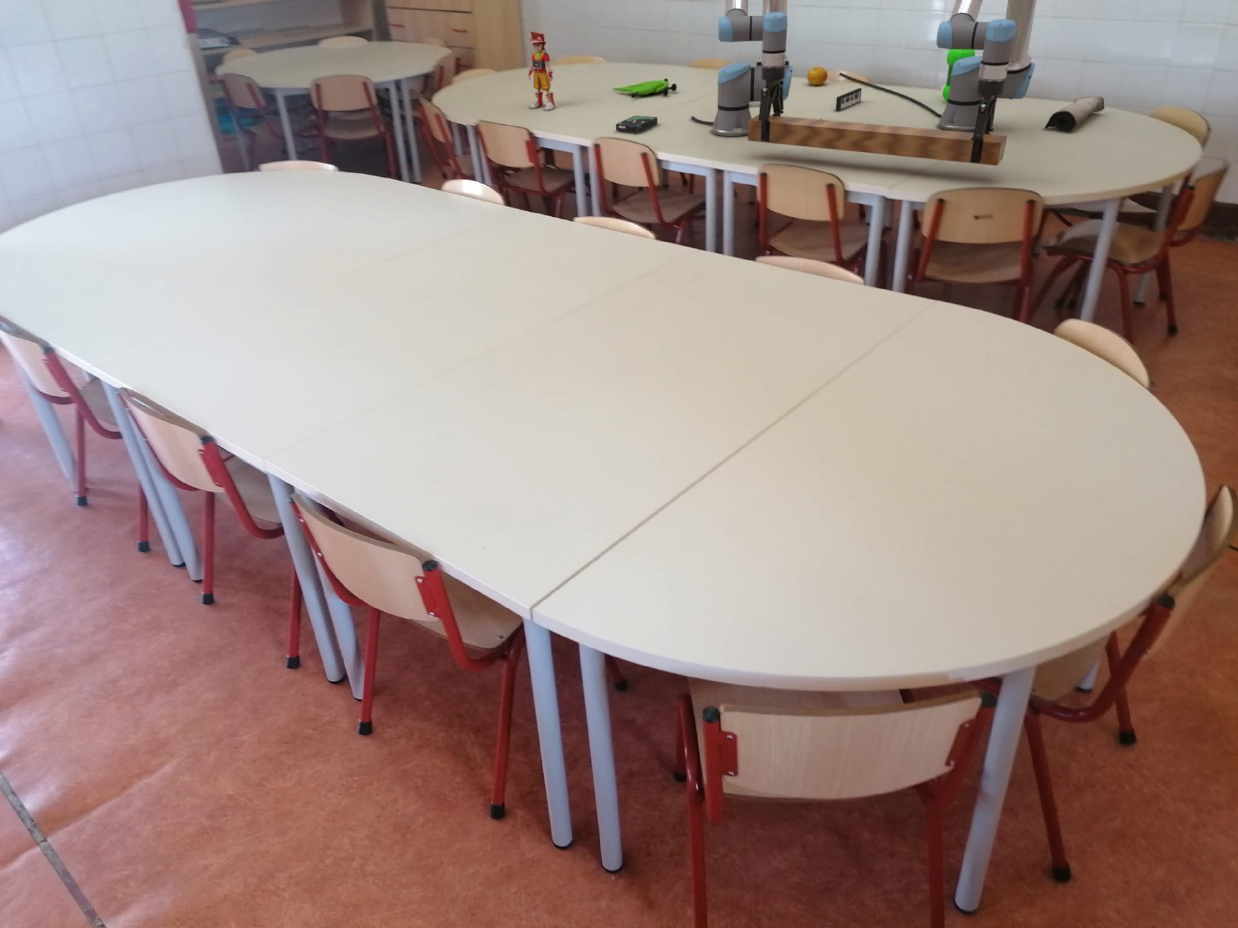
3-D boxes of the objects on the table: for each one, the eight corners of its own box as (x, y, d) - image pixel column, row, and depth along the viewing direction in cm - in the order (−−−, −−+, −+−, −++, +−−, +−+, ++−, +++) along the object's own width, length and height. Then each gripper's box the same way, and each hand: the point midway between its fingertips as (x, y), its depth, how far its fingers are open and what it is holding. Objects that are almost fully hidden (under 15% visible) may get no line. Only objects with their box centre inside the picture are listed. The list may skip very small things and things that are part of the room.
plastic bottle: (973, 101, 354) (984, 32, 339) (955, 106, 349) (966, 36, 335) (952, 97, 361) (962, 29, 346) (934, 102, 356) (944, 33, 342)
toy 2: (686, 85, 398) (631, 84, 414) (685, 72, 395) (629, 72, 411) (651, 104, 381) (596, 103, 397) (650, 92, 378) (594, 91, 394)
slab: (747, 141, 304) (748, 120, 300) (757, 134, 310) (758, 114, 306) (997, 165, 268) (1001, 143, 264) (1003, 158, 274) (1007, 135, 270)
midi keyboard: (838, 111, 353) (839, 97, 350) (835, 110, 353) (836, 97, 350) (860, 101, 363) (861, 88, 360) (857, 101, 364) (859, 88, 361)
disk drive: (638, 134, 340) (658, 124, 350) (638, 126, 338) (657, 116, 349) (615, 131, 345) (635, 121, 355) (615, 124, 343) (635, 114, 353)
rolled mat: (1071, 101, 334) (1096, 83, 326) (1085, 121, 335) (1110, 105, 327) (1040, 123, 317) (1065, 105, 309) (1054, 144, 318) (1080, 127, 309)
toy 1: (525, 109, 381) (517, 32, 364) (534, 104, 388) (527, 28, 371) (550, 110, 377) (543, 32, 360) (559, 105, 384) (553, 28, 367)
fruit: (802, 77, 388) (813, 60, 385) (805, 81, 396) (816, 64, 392) (818, 88, 386) (829, 71, 383) (820, 91, 394) (832, 74, 391)
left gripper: (771, 73, 282) (768, 147, 295) (796, 60, 297) (792, 130, 309) (749, 72, 285) (747, 144, 298) (775, 59, 300) (772, 128, 313)
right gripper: (997, 88, 252) (983, 169, 264) (1012, 72, 266) (998, 150, 279) (970, 86, 255) (957, 166, 268) (986, 71, 270) (973, 147, 283)
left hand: (770, 137), depth 304 cm, fingers closed on slab, 8 cm apart
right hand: (978, 158), depth 274 cm, fingers closed on slab, 8 cm apart
